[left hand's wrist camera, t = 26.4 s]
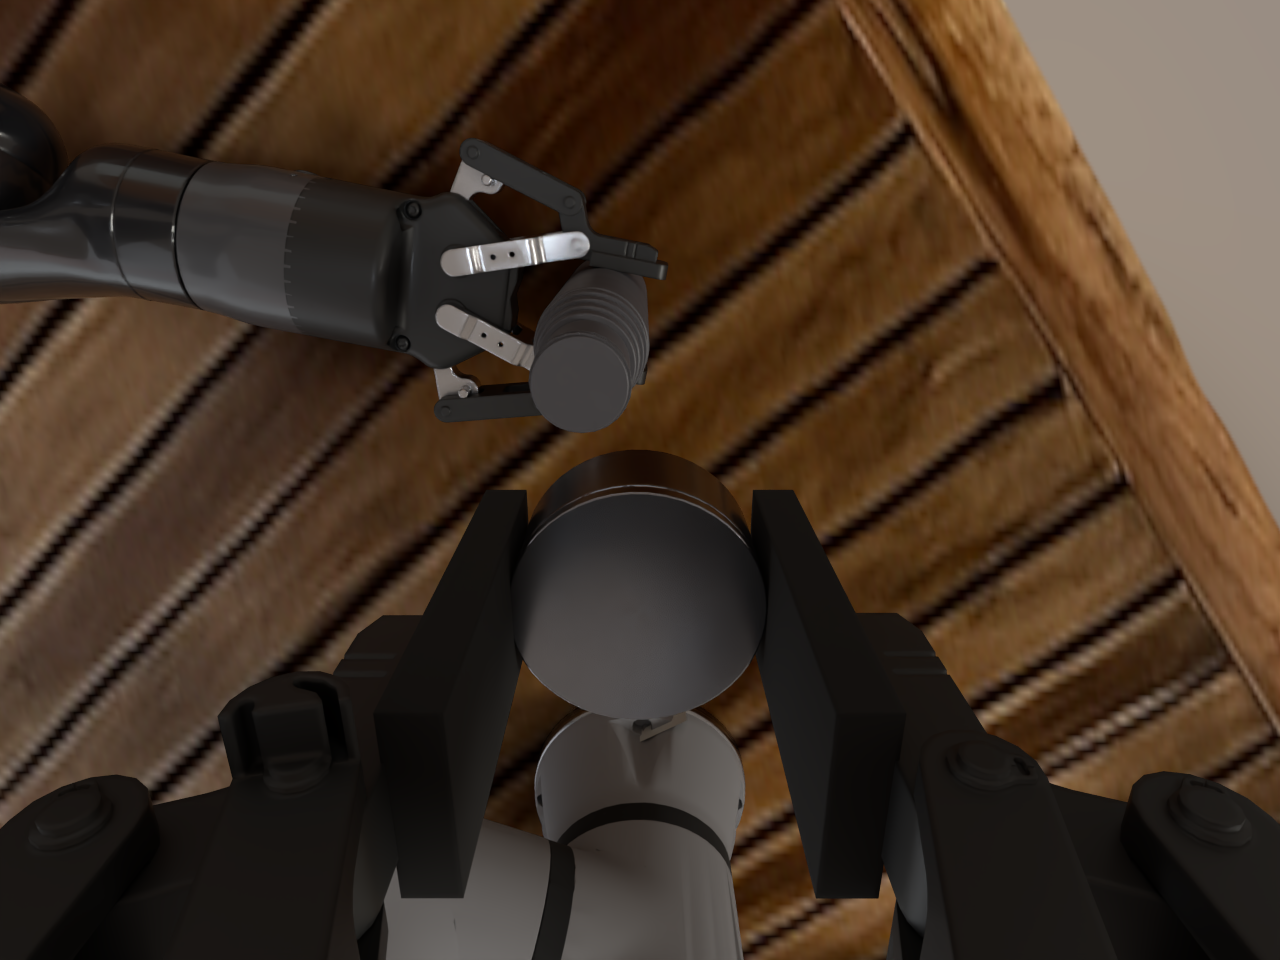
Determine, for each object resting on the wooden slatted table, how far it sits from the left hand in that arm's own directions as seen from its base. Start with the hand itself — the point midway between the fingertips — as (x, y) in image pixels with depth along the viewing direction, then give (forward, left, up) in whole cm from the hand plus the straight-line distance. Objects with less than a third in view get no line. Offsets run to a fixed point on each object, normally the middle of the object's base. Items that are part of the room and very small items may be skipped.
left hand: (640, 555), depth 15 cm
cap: (0, 0, +2) cm, 2 cm away
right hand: (+1, 0, -25) cm, 25 cm away
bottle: (-1, +2, -32) cm, 32 cm away
